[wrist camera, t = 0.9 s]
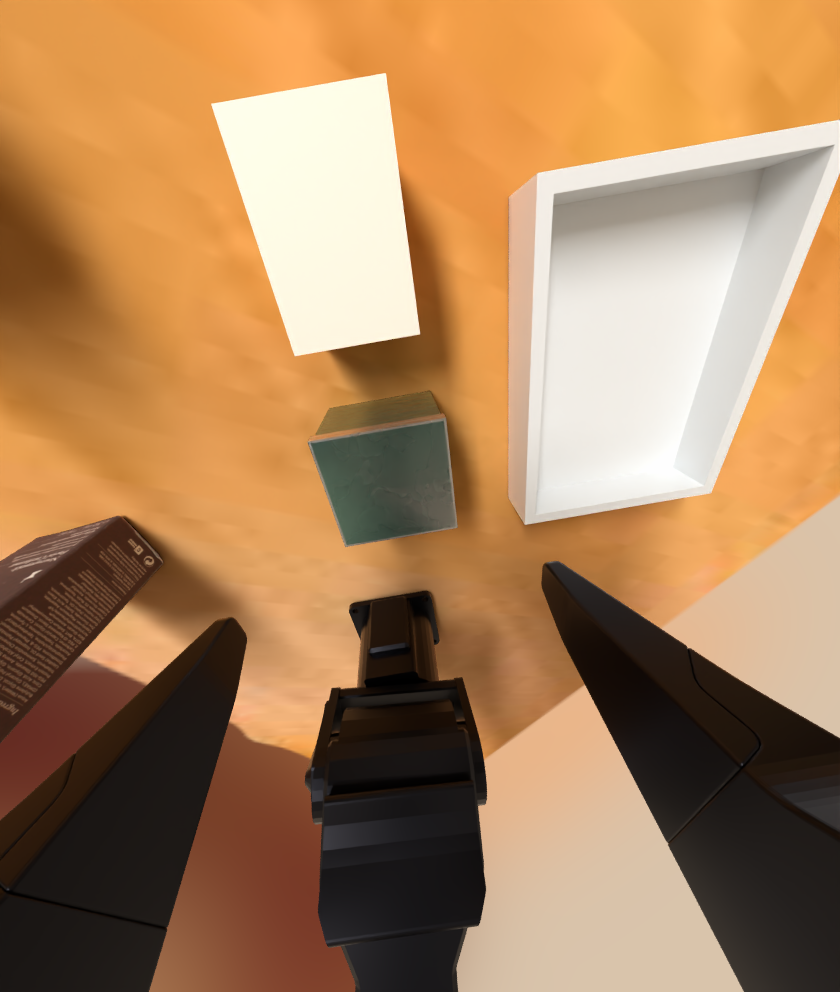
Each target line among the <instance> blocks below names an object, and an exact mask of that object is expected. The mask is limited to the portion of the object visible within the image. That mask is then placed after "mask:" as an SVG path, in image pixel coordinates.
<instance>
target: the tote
mask: <svg viewBox="0 0 840 992" xmlns="http://www.w3.org/2000/svg"><path fill="white" fill-rule="evenodd" d="M839 173H840V120H836V121H830V122H825V123H819V124H813V125H808V126H802V127H796V128H791V129H785V130H779V131H773V132H768V133H762V134H756V135H751V136H745V137H739V138H734V139H728V140H722V141H717V142H711V143H705V144H700V145H694V146H688V147H683V148H677V149H671V150H666V151H660V152H654V153H649V154H643V155H637V156H631V157H626V158H620V159H614V160H609V161H603V162H597V163H592V164H586V165H580V166H575V167H569V168H563V169H558V170H552V171H546V172H541V173H537V174H536V175H535V176H533V177H532V178H531V179H530V180H529V181H527V182H526V183H525V184H524V185H523V186H521V187H520V188H519V189H518V190H517V191H515V192H514V193H513V194H512V195H511V196H509V354H508V498H509V500H510V501H511V503H512V505H513V506H514V508H515V510H516V511H517V513H518V515H519V516H520V518H521V520H522V521H523V523H524V524H525V525H528V524H533V523H539V522H545V521H551V520H557V519H563V518H568V517H574V516H580V515H586V514H592V513H598V512H603V511H609V510H615V509H621V508H627V507H633V506H638V505H644V504H650V503H656V502H662V501H668V500H673V499H679V498H685V497H691V496H697V495H703V494H708V493H711V492H712V489H713V487H714V484H715V482H716V479H717V477H718V474H719V472H720V469H721V467H722V464H723V462H724V459H725V457H726V454H727V452H728V449H729V447H730V444H731V442H732V439H733V437H734V434H735V432H736V429H737V427H738V425H739V422H740V420H741V417H742V415H743V412H744V410H745V407H746V405H747V402H748V400H749V397H750V395H751V392H752V390H753V387H754V385H755V382H756V380H757V377H758V375H759V372H760V370H761V367H762V365H763V362H764V360H765V357H766V355H767V352H768V350H769V347H770V345H771V342H772V340H773V337H774V335H775V332H776V330H777V328H778V325H779V323H780V320H781V318H782V315H783V313H784V310H785V308H786V305H787V303H788V300H789V298H790V295H791V293H792V290H793V288H794V285H795V283H796V280H797V278H798V275H799V273H800V270H801V268H802V265H803V263H804V260H805V258H806V255H807V253H808V250H809V248H810V245H811V243H812V240H813V238H814V235H815V233H816V231H817V228H818V226H819V223H820V221H821V218H822V216H823V213H824V211H825V208H826V206H827V203H828V201H829V198H830V196H831V193H832V191H833V188H834V186H835V183H836V181H837V178H838V176H839Z"/></svg>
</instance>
